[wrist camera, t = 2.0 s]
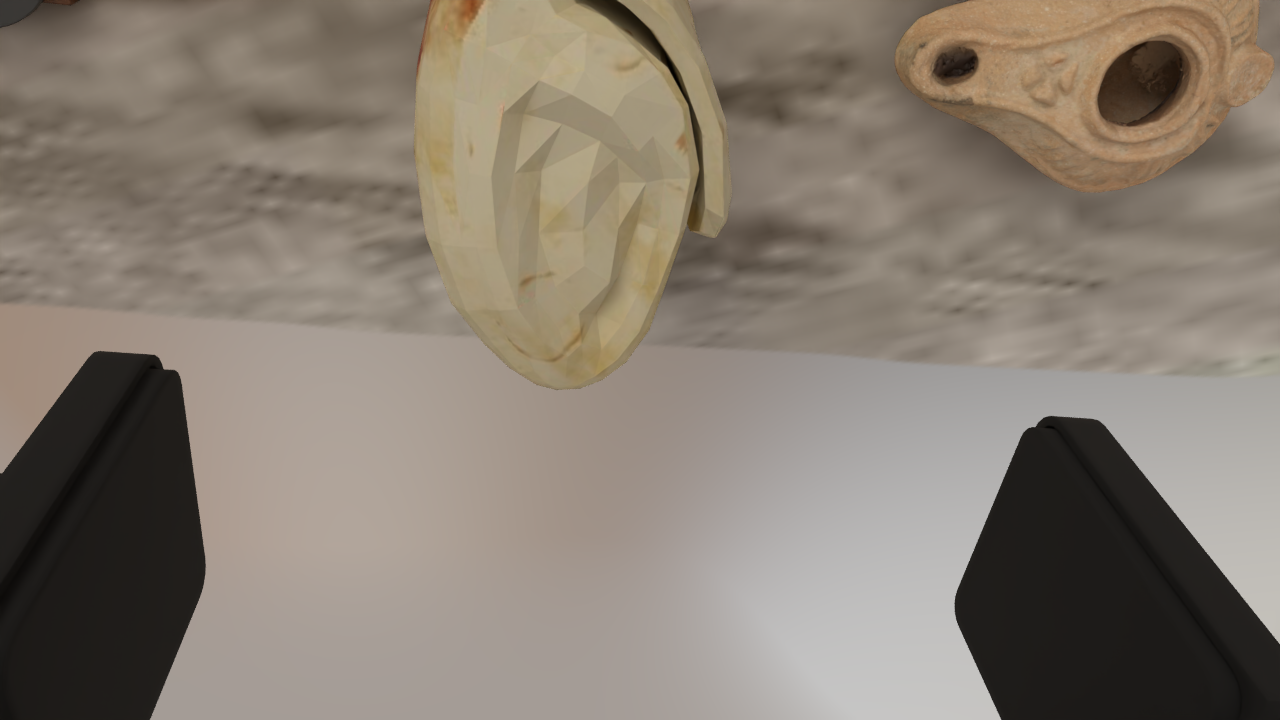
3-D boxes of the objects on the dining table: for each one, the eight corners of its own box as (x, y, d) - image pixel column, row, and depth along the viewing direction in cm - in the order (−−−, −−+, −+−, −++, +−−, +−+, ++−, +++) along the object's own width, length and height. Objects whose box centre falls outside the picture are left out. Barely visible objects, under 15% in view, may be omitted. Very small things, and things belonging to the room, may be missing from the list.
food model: (439, -187, 31) (318, -84, 14) (651, -194, 31) (780, -101, 14) (475, 117, 36) (418, 455, 19) (656, 107, 36) (753, 431, 20)
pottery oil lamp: (896, -91, 33) (1074, -136, 27) (1127, -34, 39) (1318, -60, 33) (863, 174, 35) (1023, 188, 29) (1089, 192, 41) (1263, 206, 34)
